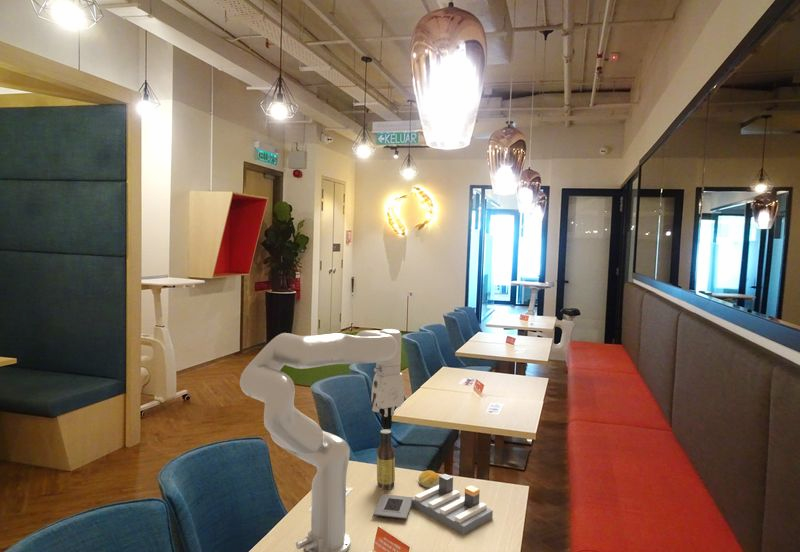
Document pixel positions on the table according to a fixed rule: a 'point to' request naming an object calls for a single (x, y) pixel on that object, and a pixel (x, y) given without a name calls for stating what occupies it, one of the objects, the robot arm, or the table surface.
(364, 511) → the table surface
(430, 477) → the bread roll
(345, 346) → the robot arm
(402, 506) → the grey flat block
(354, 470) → the table surface
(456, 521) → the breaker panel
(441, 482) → the on breaker handle
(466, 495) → the block
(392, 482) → the sauce bottle
